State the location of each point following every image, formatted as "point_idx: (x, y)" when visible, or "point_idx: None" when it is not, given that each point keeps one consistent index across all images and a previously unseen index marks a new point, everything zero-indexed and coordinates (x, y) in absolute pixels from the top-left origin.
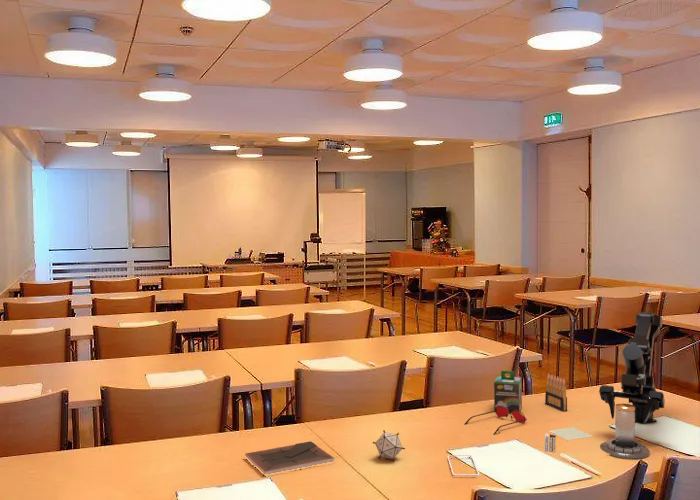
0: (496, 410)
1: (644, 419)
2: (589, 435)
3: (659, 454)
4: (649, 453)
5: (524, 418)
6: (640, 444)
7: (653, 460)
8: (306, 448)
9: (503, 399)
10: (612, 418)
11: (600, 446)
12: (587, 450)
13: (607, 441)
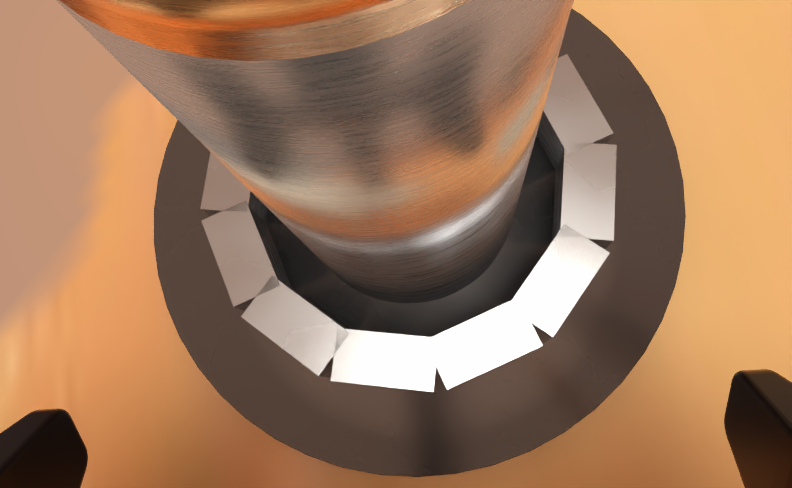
0: None
1: (12, 440)
2: None
3: (80, 304)
4: (159, 222)
5: None
6: (232, 248)
7: (119, 101)
8: None
9: None
10: (739, 402)
11: (657, 112)
12: (747, 13)
13: (608, 146)
